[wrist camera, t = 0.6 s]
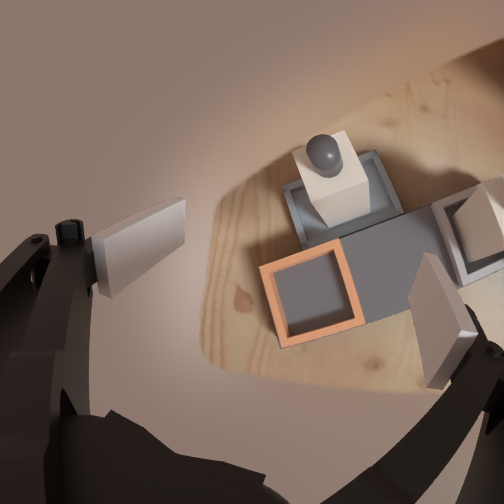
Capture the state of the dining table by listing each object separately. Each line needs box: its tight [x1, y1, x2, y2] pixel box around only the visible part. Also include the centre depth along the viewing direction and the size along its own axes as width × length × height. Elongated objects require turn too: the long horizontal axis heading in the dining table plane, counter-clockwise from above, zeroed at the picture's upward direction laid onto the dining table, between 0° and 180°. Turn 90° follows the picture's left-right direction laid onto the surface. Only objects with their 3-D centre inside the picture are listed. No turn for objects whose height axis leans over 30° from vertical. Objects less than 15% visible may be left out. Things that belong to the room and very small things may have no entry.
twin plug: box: [452, 175, 504, 263], centre depth 18 cm, size 5×5×13 cm
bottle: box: [291, 131, 371, 228], centre depth 26 cm, size 5×5×13 cm
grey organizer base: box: [258, 178, 504, 349], centre depth 28 cm, size 29×9×4 cm, turn 107°
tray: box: [282, 150, 404, 251], centre depth 32 cm, size 12×8×1 cm, turn 107°
